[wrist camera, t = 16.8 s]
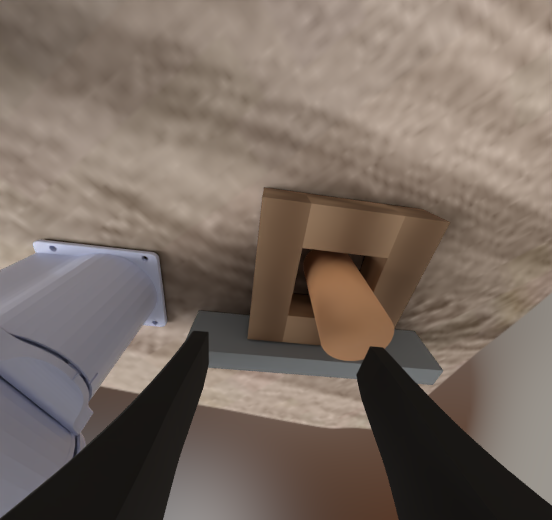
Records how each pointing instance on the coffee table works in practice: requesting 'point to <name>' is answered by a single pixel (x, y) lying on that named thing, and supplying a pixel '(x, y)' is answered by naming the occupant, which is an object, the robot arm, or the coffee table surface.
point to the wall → (301, 352)
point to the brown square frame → (337, 238)
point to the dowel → (344, 307)
